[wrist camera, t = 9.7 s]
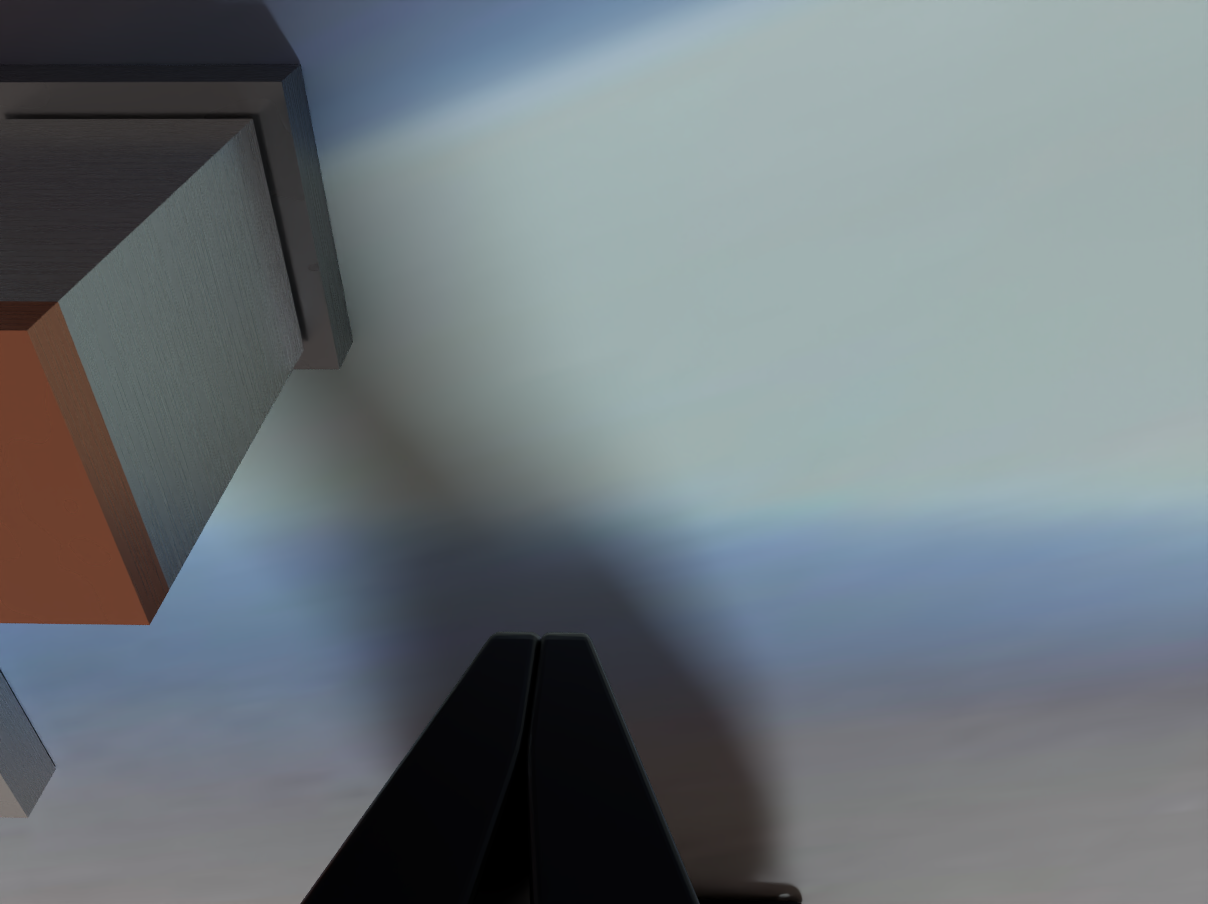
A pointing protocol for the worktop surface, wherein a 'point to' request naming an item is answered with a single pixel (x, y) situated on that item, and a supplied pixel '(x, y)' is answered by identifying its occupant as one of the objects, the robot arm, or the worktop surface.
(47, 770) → the flat plate
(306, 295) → the press rail
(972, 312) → the worktop surface
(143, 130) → the small box
